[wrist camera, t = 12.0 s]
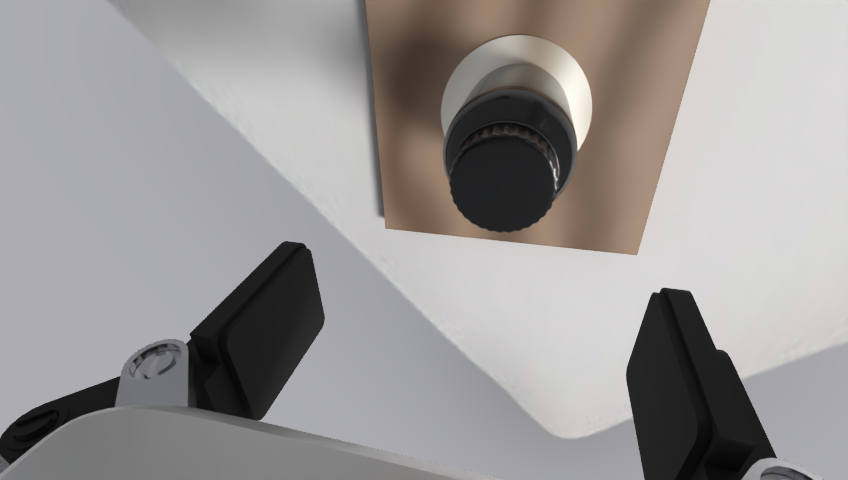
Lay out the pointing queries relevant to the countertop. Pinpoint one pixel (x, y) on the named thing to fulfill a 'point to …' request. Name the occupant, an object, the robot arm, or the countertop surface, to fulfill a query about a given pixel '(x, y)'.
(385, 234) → the countertop surface
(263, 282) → the robot arm
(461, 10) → the walnut board
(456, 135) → the supplement bottle
